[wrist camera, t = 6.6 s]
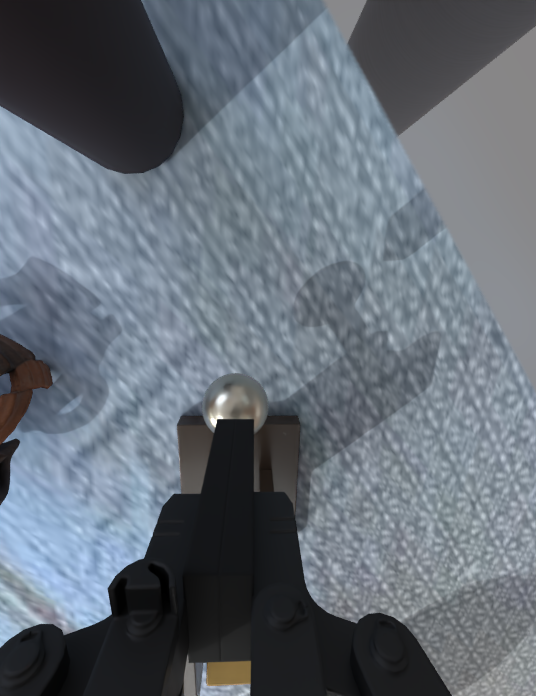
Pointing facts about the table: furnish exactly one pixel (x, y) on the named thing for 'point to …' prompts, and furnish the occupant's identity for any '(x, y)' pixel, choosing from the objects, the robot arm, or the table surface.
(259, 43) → the table surface
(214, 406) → the tap lever
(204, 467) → the dark grey lever stand
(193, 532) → the robot arm
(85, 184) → the table surface
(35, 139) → the table surface
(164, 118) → the bottle
